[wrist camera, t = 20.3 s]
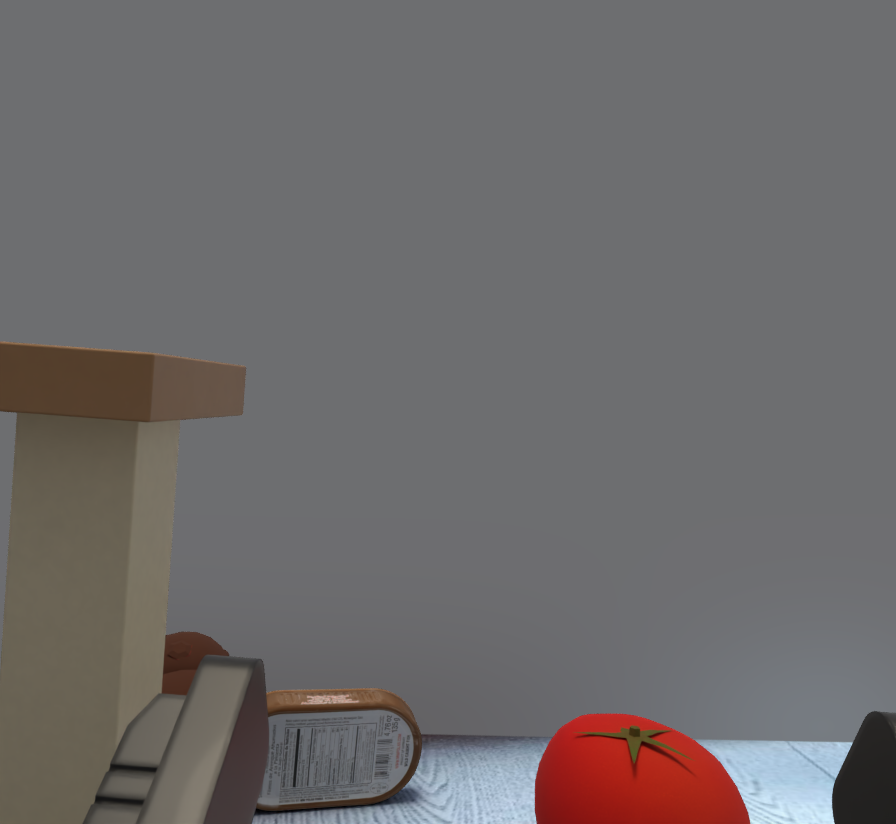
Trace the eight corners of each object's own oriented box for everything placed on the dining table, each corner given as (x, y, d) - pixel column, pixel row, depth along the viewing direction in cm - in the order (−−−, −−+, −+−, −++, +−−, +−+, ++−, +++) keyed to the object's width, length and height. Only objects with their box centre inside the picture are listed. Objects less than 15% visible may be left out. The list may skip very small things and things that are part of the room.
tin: (411, 786, 67) (419, 682, 67) (422, 805, 64) (430, 696, 64) (217, 800, 62) (224, 689, 62) (218, 822, 59) (227, 704, 59)
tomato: (594, 823, 63) (606, 673, 63) (770, 914, 53) (785, 736, 53) (481, 880, 55) (495, 706, 54) (666, 1001, 45) (684, 789, 44)
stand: (97, 1447, 24) (171, 354, 24) (-172, 1420, 25) (-105, 333, 24) (204, 1142, 34) (258, 367, 34) (13, 1124, 35) (63, 352, 34)
